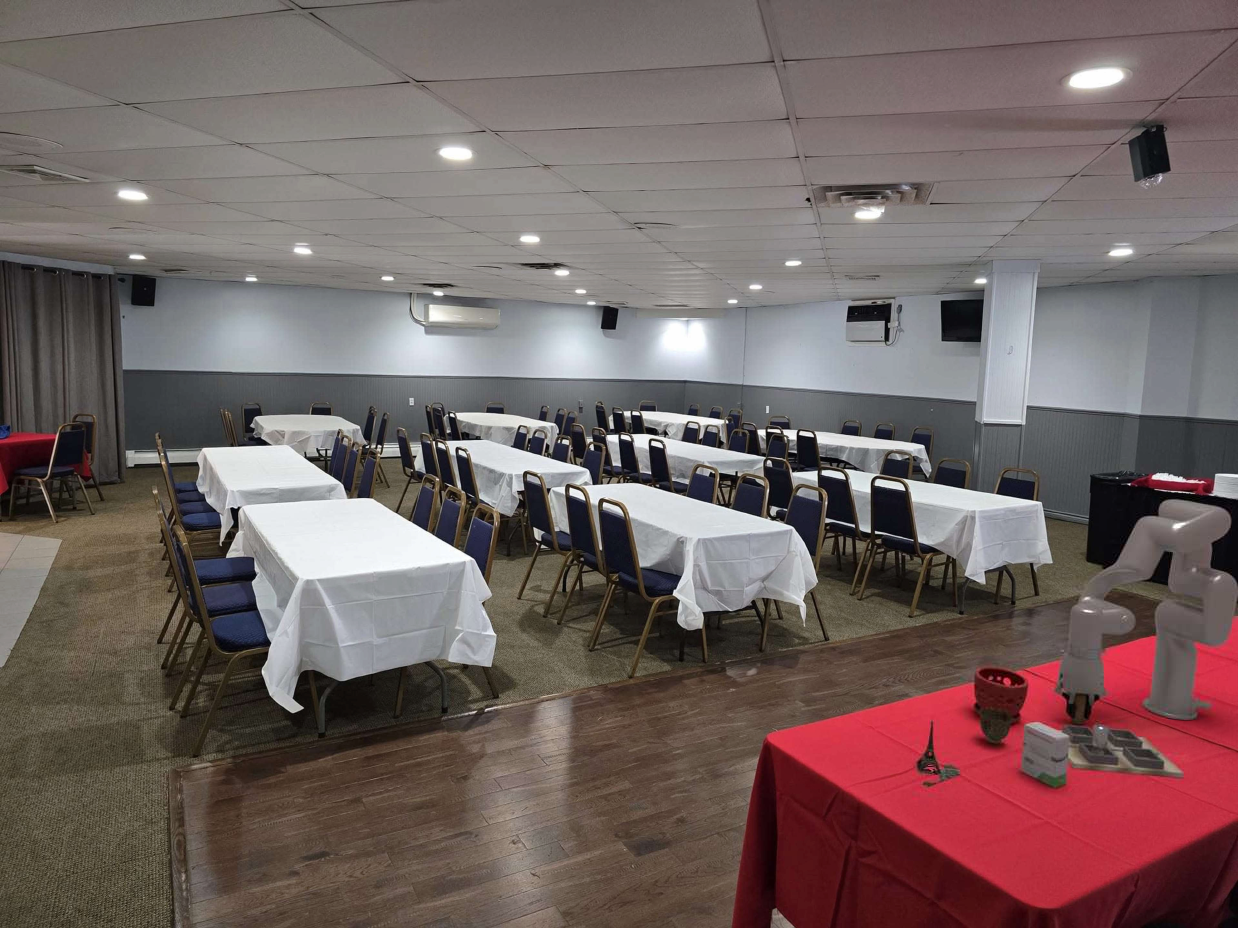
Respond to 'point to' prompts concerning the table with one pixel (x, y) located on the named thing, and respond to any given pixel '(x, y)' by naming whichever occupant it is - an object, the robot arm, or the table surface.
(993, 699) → the plant pot
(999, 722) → the cup
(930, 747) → the eiffel tower figurine
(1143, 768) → the board
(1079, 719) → the walnut pin
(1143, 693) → the table surface
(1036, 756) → the ink box
